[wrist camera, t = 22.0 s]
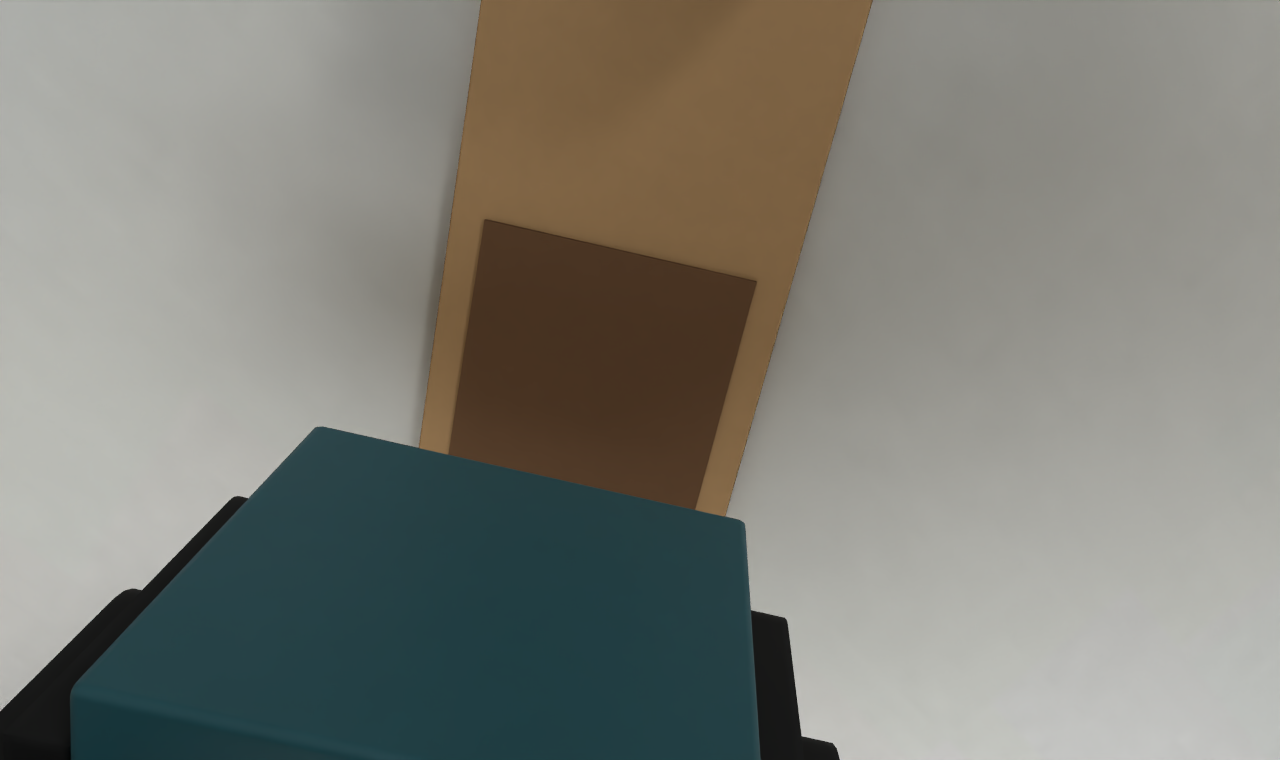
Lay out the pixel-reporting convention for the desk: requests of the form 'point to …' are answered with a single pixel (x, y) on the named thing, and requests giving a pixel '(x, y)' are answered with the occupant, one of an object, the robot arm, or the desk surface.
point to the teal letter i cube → (435, 624)
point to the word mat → (630, 233)
